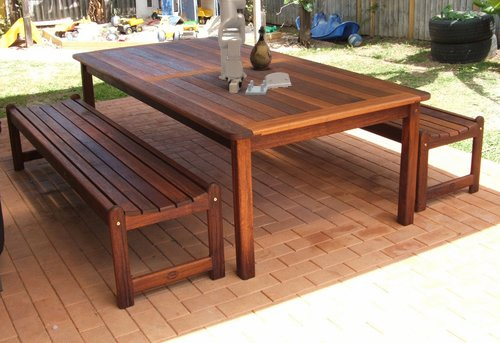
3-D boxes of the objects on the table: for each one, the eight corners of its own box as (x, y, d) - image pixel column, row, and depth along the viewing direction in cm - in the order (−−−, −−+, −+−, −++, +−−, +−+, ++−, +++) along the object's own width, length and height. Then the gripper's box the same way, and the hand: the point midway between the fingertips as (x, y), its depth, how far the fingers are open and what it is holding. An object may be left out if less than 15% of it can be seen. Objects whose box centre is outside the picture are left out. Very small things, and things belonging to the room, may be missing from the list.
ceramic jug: (271, 71, 489) (271, 27, 479) (249, 71, 490) (249, 28, 480) (271, 66, 505) (271, 24, 496) (250, 66, 506) (249, 25, 496)
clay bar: (233, 87, 441) (233, 79, 439) (240, 87, 440) (240, 79, 438) (229, 93, 426) (229, 84, 424) (237, 93, 425) (236, 84, 423)
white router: (267, 88, 435) (265, 73, 435) (264, 90, 439) (262, 74, 439) (292, 86, 440) (290, 70, 440) (289, 87, 444) (287, 72, 444)
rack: (249, 88, 438) (249, 79, 436) (268, 88, 436) (268, 79, 434) (245, 94, 421) (245, 85, 419) (265, 94, 419) (265, 85, 417)
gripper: (219, 59, 424) (220, 88, 430) (247, 59, 422) (248, 89, 428) (221, 57, 431) (222, 86, 437) (249, 57, 429) (249, 86, 435)
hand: (235, 87), depth 432 cm, fingers open, 5 cm apart
